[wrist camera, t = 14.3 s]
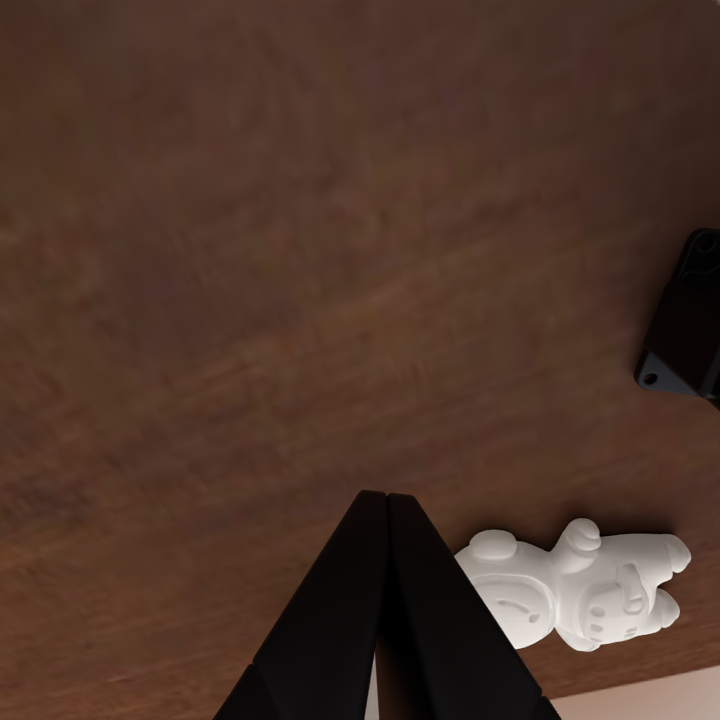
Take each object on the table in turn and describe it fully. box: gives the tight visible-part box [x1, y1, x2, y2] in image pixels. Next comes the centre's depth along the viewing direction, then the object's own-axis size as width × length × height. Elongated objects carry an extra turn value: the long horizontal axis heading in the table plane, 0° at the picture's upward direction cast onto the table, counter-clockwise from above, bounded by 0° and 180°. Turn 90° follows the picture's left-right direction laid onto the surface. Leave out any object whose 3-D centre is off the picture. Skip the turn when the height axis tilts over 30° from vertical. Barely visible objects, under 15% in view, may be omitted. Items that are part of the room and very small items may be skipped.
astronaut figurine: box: [454, 518, 691, 651], centre depth 25 cm, size 9×12×3 cm
